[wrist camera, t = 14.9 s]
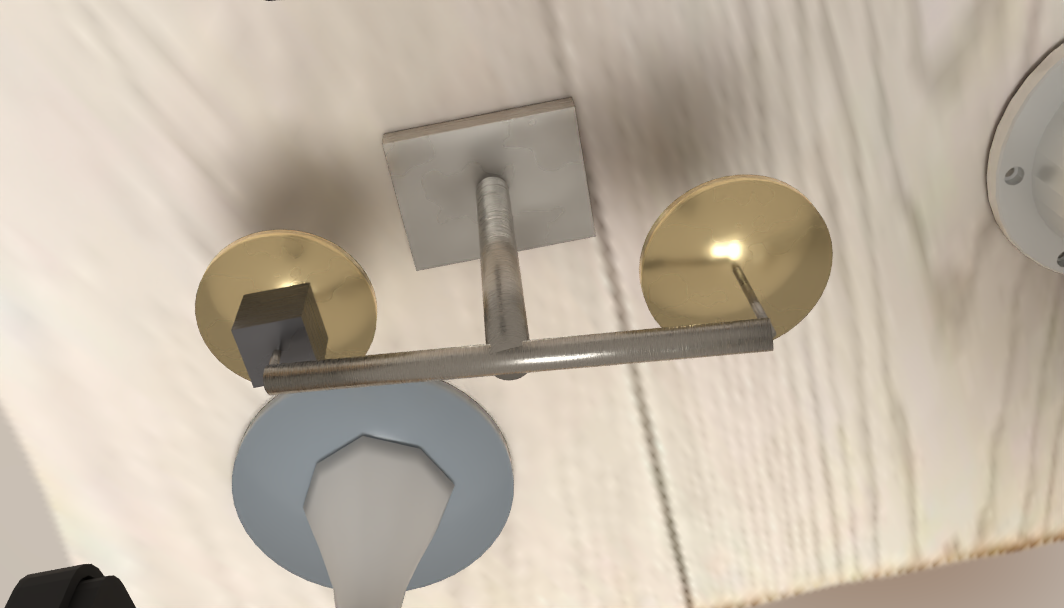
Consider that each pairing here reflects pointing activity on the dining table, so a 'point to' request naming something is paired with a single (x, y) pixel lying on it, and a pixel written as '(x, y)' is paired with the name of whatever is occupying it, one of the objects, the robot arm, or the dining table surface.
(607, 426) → the dining table surface
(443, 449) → the slate dish
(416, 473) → the flask
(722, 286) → the tipped balance
